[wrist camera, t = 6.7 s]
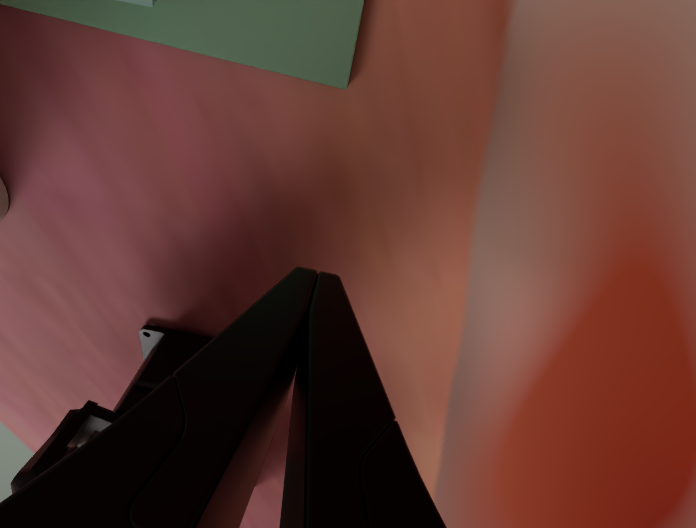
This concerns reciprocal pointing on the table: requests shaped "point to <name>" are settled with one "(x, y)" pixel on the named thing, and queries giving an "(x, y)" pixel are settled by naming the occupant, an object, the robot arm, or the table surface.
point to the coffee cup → (3, 200)
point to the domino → (141, 2)
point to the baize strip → (233, 30)
